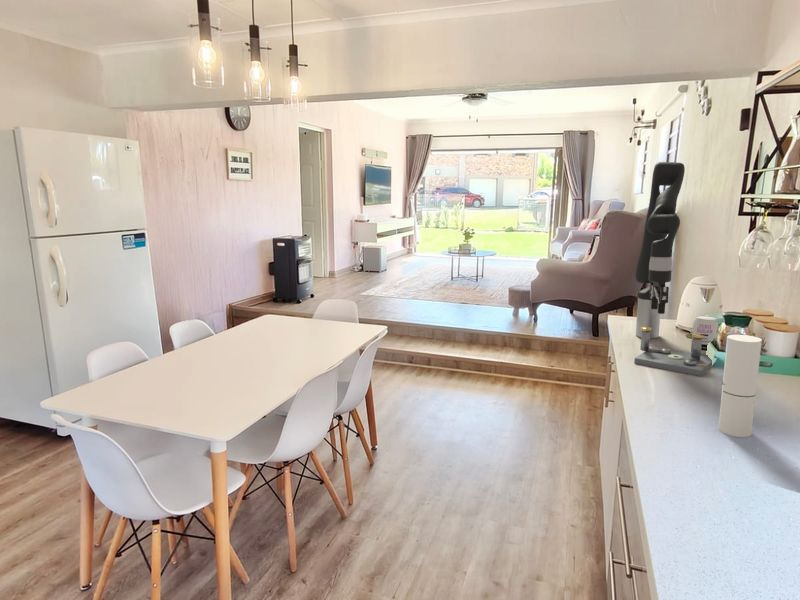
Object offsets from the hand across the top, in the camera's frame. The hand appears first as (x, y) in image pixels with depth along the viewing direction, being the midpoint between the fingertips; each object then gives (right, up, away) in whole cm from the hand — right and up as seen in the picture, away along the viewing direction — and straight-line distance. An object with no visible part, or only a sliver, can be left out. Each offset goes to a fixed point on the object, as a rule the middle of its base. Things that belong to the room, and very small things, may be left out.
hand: (657, 311), depth 186 cm
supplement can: (+20, -17, +4) cm, 27 cm away
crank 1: (+1, -16, +4) cm, 16 cm away
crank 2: (+8, -18, -9) cm, 22 cm away
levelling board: (+5, -19, -3) cm, 20 cm away
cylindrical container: (-10, -30, -58) cm, 66 cm away
